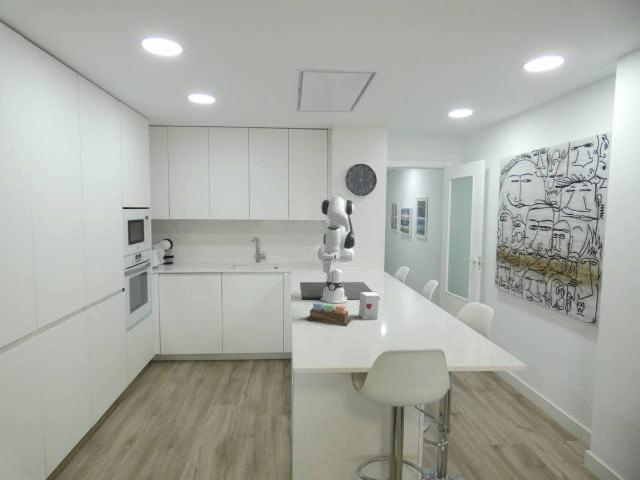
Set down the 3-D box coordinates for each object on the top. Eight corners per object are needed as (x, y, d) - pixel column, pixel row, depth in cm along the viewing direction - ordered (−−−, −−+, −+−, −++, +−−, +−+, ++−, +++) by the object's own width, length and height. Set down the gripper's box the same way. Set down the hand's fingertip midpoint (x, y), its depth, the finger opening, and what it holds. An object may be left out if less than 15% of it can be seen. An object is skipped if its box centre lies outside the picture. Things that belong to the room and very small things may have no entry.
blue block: (315, 310, 235) (315, 301, 235) (323, 311, 234) (323, 302, 233) (312, 312, 230) (313, 303, 230) (321, 313, 229) (321, 304, 228)
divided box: (311, 316, 239) (312, 306, 238) (350, 321, 232) (351, 311, 231) (306, 320, 229) (306, 310, 229) (346, 326, 222) (347, 315, 222)
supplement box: (363, 320, 236) (365, 295, 234) (358, 315, 244) (359, 291, 243) (377, 319, 238) (379, 295, 237) (372, 315, 247) (373, 291, 246)
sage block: (326, 311, 233) (326, 303, 233) (334, 312, 232) (334, 304, 231) (323, 313, 228) (324, 305, 228) (332, 314, 227) (332, 306, 226)
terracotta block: (336, 312, 231) (337, 304, 231) (345, 314, 230) (345, 305, 229) (334, 315, 226) (335, 306, 226) (343, 316, 225) (343, 307, 225)
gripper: (331, 252, 238) (330, 275, 239) (321, 256, 218) (320, 280, 220) (341, 253, 236) (340, 276, 237) (332, 257, 217) (331, 281, 218)
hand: (330, 278), depth 228 cm, fingers open, 3 cm apart
